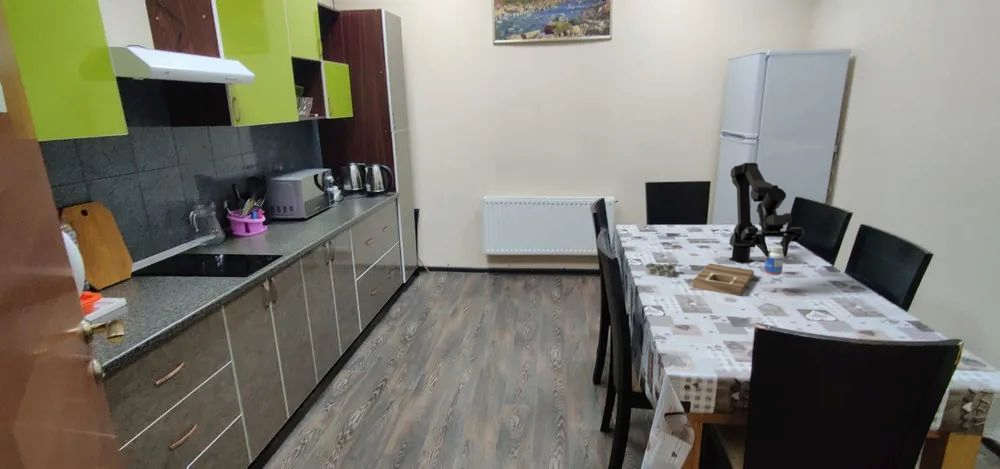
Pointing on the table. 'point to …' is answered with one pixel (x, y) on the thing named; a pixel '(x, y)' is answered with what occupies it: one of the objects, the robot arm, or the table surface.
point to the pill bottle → (774, 260)
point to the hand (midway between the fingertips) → (776, 256)
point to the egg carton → (661, 269)
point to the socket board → (723, 279)
